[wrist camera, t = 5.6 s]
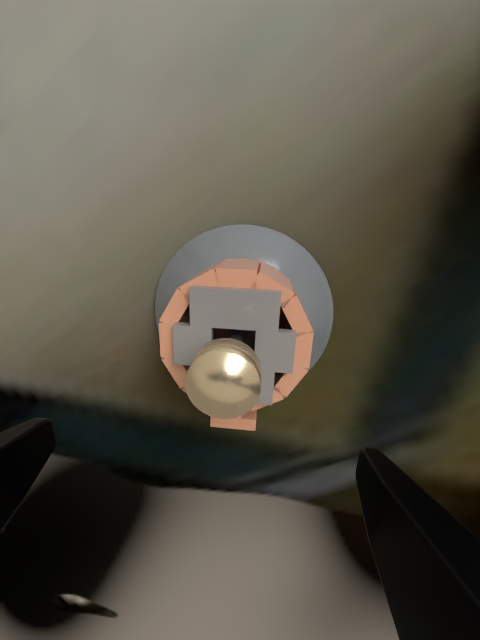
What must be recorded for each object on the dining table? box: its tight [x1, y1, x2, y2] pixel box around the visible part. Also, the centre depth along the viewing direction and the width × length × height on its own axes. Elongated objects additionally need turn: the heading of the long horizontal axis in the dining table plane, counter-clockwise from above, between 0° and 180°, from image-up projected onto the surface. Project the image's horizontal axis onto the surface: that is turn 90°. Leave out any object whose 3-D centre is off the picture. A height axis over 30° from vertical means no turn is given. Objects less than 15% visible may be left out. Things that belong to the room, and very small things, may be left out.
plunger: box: [185, 315, 281, 419], centre depth 15 cm, size 5×5×8 cm
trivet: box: [155, 224, 334, 371], centre depth 20 cm, size 12×12×1 cm
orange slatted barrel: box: [159, 258, 314, 431], centre depth 18 cm, size 10×8×5 cm
